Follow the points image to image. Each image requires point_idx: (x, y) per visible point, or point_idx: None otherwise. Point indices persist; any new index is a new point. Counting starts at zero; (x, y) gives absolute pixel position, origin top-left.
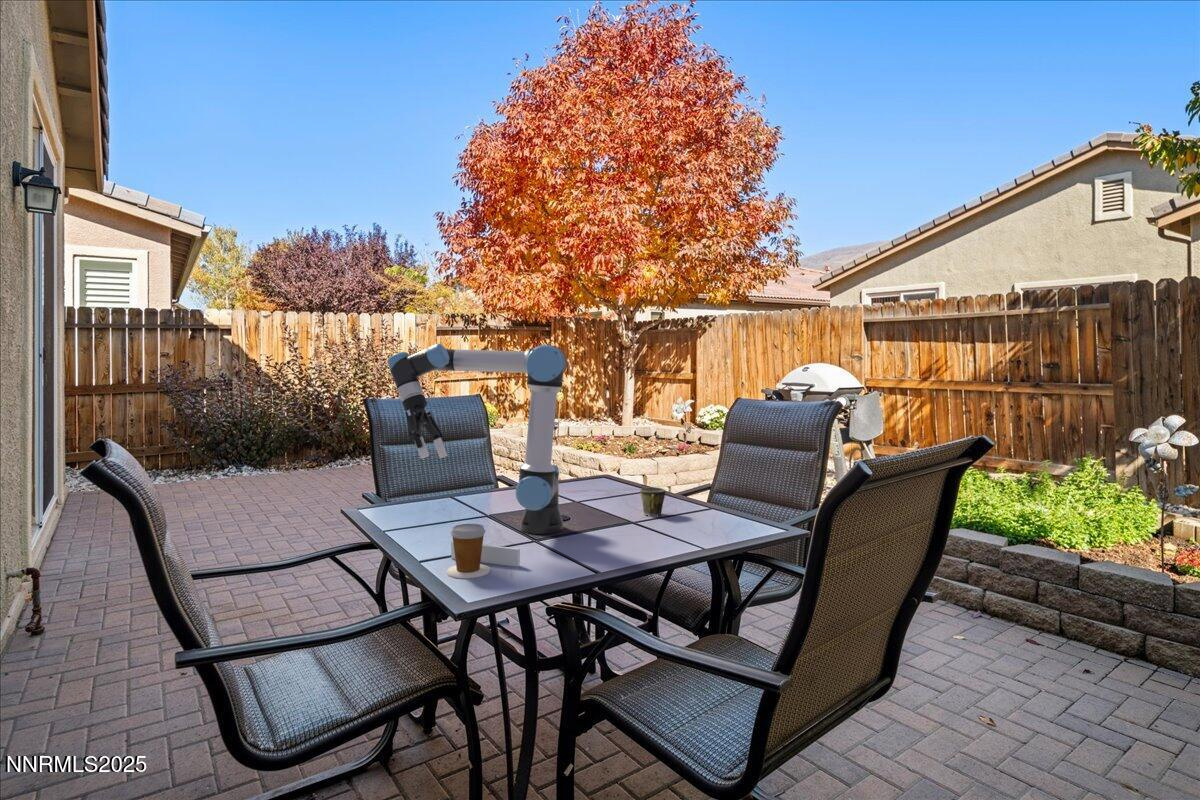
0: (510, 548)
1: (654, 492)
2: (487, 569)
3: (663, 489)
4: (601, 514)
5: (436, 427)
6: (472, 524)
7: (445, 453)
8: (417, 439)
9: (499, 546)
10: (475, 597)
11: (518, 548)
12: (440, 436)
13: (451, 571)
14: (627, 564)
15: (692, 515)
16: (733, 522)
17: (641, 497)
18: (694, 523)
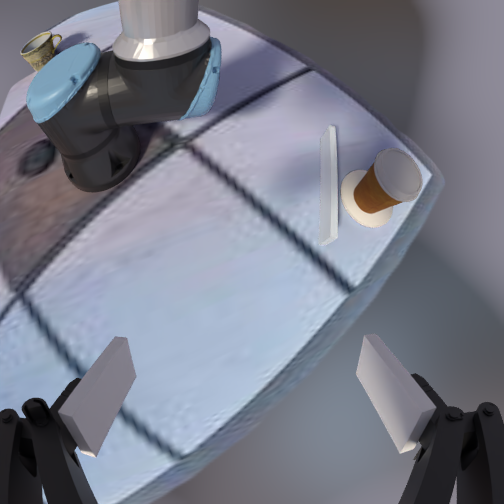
0: (334, 136)
1: (50, 35)
2: (357, 173)
3: (35, 37)
4: (27, 112)
5: (12, 481)
6: (384, 168)
7: (123, 347)
8: (441, 409)
9: (331, 152)
10: (421, 170)
11: (330, 126)
12: (48, 420)
13: (381, 218)
14: (271, 47)
15: (59, 38)
16: (95, 11)
17: (37, 55)
18: (93, 27)
